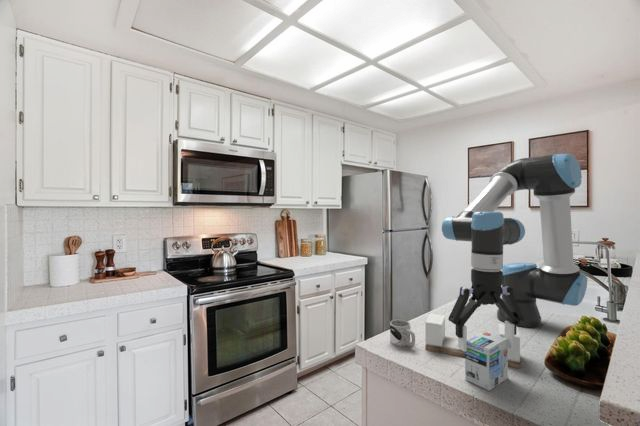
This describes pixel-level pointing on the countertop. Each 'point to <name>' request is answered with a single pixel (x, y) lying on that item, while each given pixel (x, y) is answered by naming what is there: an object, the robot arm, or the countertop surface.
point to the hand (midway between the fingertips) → (485, 348)
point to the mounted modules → (437, 334)
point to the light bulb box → (486, 360)
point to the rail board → (458, 350)
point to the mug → (401, 333)
